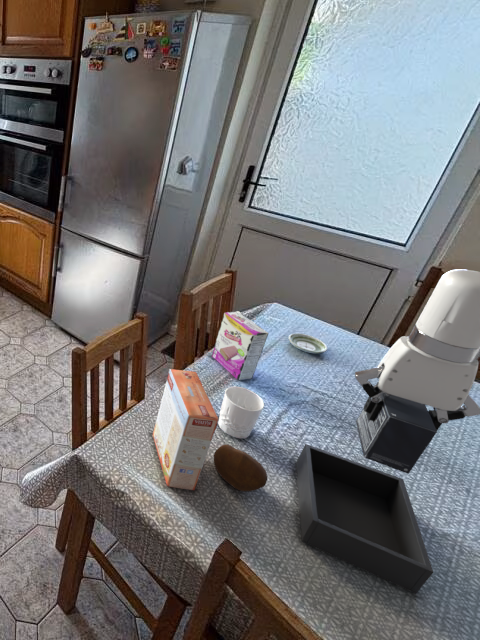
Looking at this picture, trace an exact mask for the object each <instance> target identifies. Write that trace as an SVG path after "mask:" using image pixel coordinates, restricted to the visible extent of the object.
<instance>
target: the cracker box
mask: <svg viewBox="0 0 480 640" xmlns="http://www.w3.org/2000/svg"><path fill="white" fill-rule="evenodd" d="M218 421H219V417H218V414H217V413H216V410H215V409H214V406H213V404H212V402H211V400H210V398H209V396H208V394H207V391H206V389H205V388H204V386H203V383H202V381H201V379H200V376H199V375H198V373H197V371H192V370H184V369H183V370H181V369H174V368H173V369H172V368H169V371H168V374H167V378H166V382H165V386H164V390H163V393H162V398H161V401H160V405H159V409H158V413H157V417H156V420H155V425H154V428H153V432H152V438H153V441H154V445H155V448H156V451H157V456H158V459H159V462H160V466H161V469H162V473H163V477H164V480H165V484H166V486H167V487H169V488H175V489H176V488H177V489H182V490H190V491H195V490H196V487H197V484H198V481H199V479H200V475H201V472H202V470H203V466H204V464H205V461H206V458H207V455H208V452H209V450H210V446H211V444H212V441H213V438H214V435H215V433H216V429H217V427H218V425H219V424H218Z"/></svg>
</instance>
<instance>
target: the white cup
mask: <svg viewBox="0 0 480 640" xmlns="http://www.w3.org/2000/svg"><path fill="white" fill-rule="evenodd" d="M221 402H222V403H221V406H220V411H219V417H218V419H219V421H218V424H217V425H218V427H219V428H220V429H221V430H222V431H223V433H225V434H227V435H229V436H230V437H232V438H236V439H247V438H249V437H250V435H251V433H252V431H253V429H255V426H256V424H257V422H258V420H259V418H260V417H261V414H262V412H263V410H264V407H265V402H264V400H263V399H262V397H260V395H258V394H257V393H256V392H254V391H252V390H250V389H248V388H246V387H243V386H233V385H232V386H228V387H227V388H226V389H225V390H224V394H223V399H222V401H221Z"/></svg>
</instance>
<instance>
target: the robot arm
mask: <svg viewBox="0 0 480 640" xmlns="http://www.w3.org/2000/svg"><path fill="white" fill-rule="evenodd" d="M479 358H480V271H477V270H473V269H452V270H449V271H446V272H445V273H444V274H442V275H441V277H440V278H439V280H438V282H437V283H436V286H435V287H434V289H433V291H432V293H431V294H430V297H429V299H428V301H427V302H426V304H425V305H424V308H423V309H422V311H421V313H420V315H419V317H418V319H417V321H416V323H415V325H414V326H413V328H412V330H411V332H410V334H409V335H408V336H407V335H405V336H404V335H403V336H400V337H399V338H398V339H397V340H396V341H395V342H394V344H392V346H391V347H390V348H389V349H388V350H387V352H386V353H385V355H384V356H383V357H382V359H381V360H380V361H379V363H378V365H377V366H376V367H372V368H368V369H367V368H366V369H363V370H362V369H361V370H358V371H354V378H355V380H356V381H357V382H358V384H359V385H360V386H361V387H362V389H363V391H364V392H365V393H366V394H367V396H368V398H367V399H366V402H365V403H364V405H363V409H364V411H365V412H367V416H368V420H371V421H373V420H375V418H376V417H377V415H378V413H379V411H380V409H381V408H382V403H381V401H382V400H384V399H386V398H388V397H389V396H391V395H395V396H398V397H401V398H404V399H408V400H411V401H414V402H418V403H421V404H425V405H426V406H428V407H432V410H431V409H428V412H429V415H430V417H431V419H432V421H433V424H434V426H435V428H436V431H437V432H438V431H439V429H440V427H441V425H442V424H443V425H445V424H448V423H449V422H450V421H456V420H462V419H465V417H468V418H469V417H474V416H480V406H479V404H478V403H477V402H476V401H475V400H474V399H473V398H472V396H470V392H471V390H472V388H473V385H474V382H475V380H476V376H477V373H478V370H479V364H480V361H479V360H478V359H479ZM374 379H378V382H379V383H378V384H377V383H376V384H377V385H376V384H375V385H373V384H372V383H371V382H370V380H374Z"/></svg>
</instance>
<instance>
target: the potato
mask: <svg viewBox="0 0 480 640" xmlns="http://www.w3.org/2000/svg"><path fill="white" fill-rule="evenodd" d="M213 465H214V468H215V469H216V472H217V473H218V474H219V475H220V477H221V478H222V479H223V480H224V481H225V482H226V483H228V484H229V485H231V487H233V488H234V489H236V490H238V491H239V492H240V491H241V492H253V491H257V490H260V489H262V488H264V487H265V486H266V485H267V481H268V474H267V471H266V469H265V468H264V466H263V465H262V464H261V462H259V461H257V459H255V458H254V457H253V456H251V455H250V454H248V453H247V452H245V451H243V450H240V449H237V448H235V447H234V446H232V445H230V444H228V443H226V444H222V445H220V446H219V447H218V448H217V449H216V450H215V451H214V454H213Z"/></svg>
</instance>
